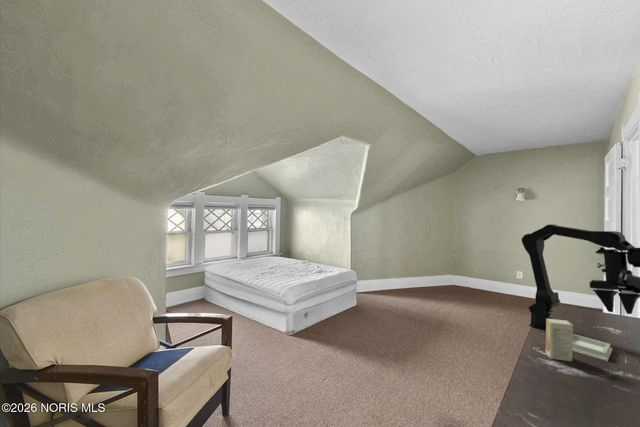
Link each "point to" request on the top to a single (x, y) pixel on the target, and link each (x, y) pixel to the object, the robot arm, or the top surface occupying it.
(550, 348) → the skincare box
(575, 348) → the dock
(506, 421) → the top surface
